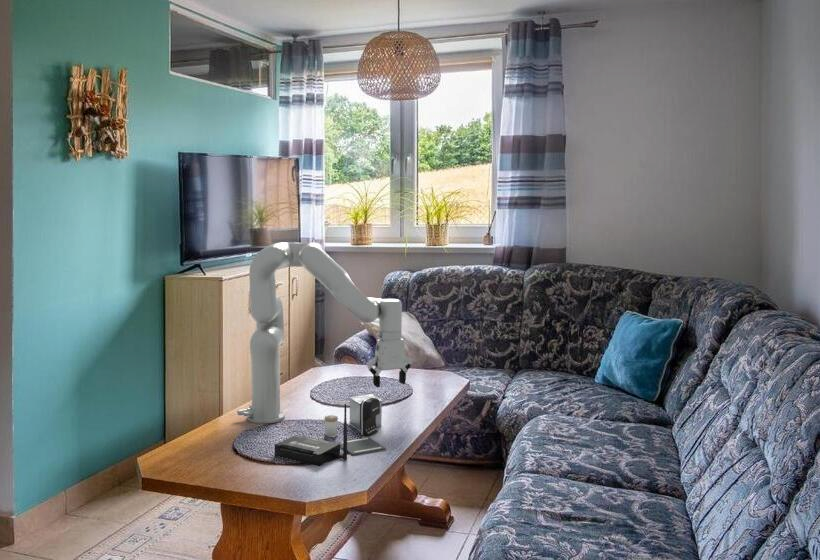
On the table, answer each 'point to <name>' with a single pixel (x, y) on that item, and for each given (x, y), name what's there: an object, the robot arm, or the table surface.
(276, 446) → the black router
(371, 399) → the battery charger
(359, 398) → the wall box
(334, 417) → the white cylinder
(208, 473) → the table surface
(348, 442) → the mat
